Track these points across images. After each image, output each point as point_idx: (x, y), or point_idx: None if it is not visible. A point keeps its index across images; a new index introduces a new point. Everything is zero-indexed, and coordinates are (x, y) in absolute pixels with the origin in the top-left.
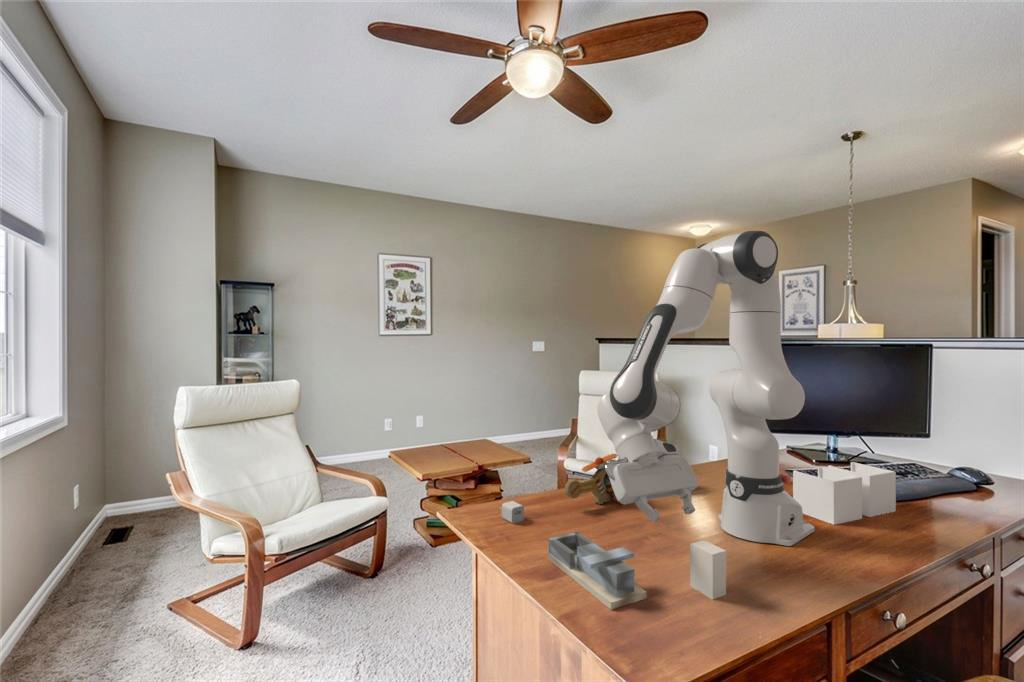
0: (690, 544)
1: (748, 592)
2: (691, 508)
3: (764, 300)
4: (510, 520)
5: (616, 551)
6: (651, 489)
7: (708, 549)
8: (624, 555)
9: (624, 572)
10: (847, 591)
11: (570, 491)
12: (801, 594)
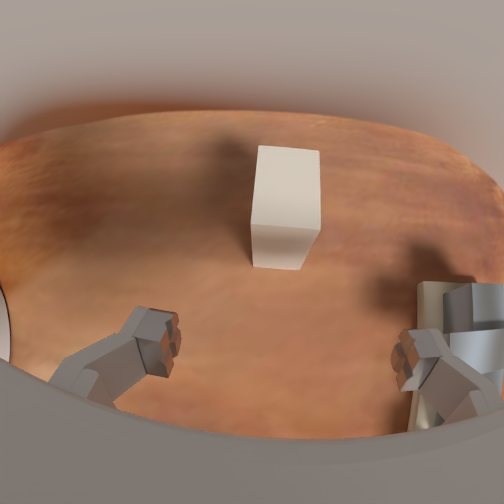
0: (319, 230)
1: (208, 190)
2: (158, 312)
3: None
4: None
5: (473, 362)
6: (462, 440)
7: (301, 173)
8: (473, 332)
9: (489, 284)
10: (85, 131)
11: None
12: (139, 148)
